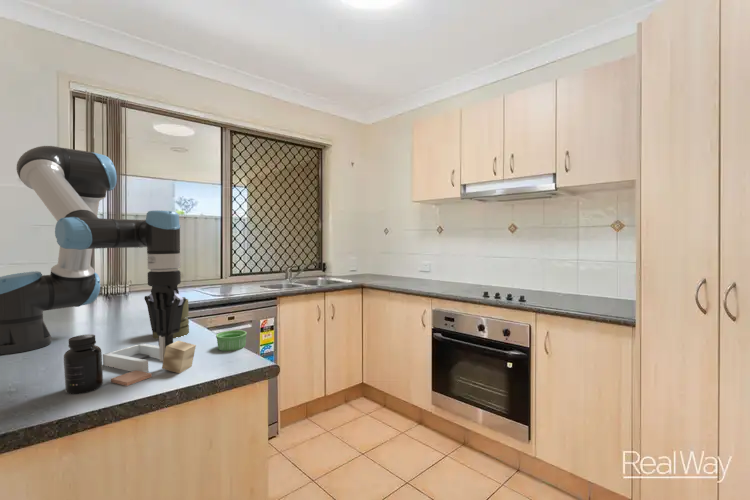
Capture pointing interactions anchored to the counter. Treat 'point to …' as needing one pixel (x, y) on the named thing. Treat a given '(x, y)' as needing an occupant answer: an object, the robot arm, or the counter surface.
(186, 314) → the piston
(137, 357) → the channel
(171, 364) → the block
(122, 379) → the tile
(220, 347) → the ramekin
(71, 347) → the supplement bottle
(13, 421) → the counter surface
